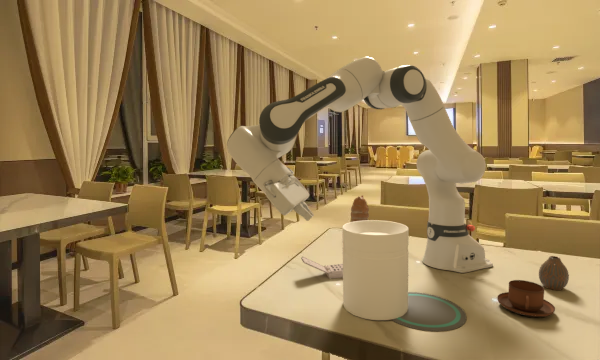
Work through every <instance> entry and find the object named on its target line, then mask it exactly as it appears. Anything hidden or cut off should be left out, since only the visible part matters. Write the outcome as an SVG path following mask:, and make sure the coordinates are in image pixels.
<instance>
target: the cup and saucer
mask: <svg viewBox="0 0 600 360" xmlns="http://www.w3.org/2000/svg"><path fill="white" fill-rule="evenodd" d="M544 297H545V287H544V286H542V285H541V284H539V283H536V282H534V281H529V280H522V279H513V280H510V281H508V292H507V291H505V292H502V293H499V294H498V295H497V297H496V298H497V302H499V304H500V305H501V306H502V307H503V308H504V309H506V310H509V311H511V312H513V313H515V314H518V315H523V316H525V317H532V318H541V317H542V318H544V317H549V316H550V315H553V314H554V313H555V310H556V307H555V306H554V304H553V303H551V302H550V301H548V300H546V299H544Z"/></svg>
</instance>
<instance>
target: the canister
mask: <svg viewBox="0 0 600 360" xmlns="http://www.w3.org/2000/svg"><path fill="white" fill-rule="evenodd" d="M341 229H342V231H341V232H342V264H343V278H342V292H343V293H342V294H343V295H342V304H343V308H344V309H345V310H346V312H348V313H350V314H351V315H353V316H355V317H357V318H358V317H359V318H362V319H364V320H365V319H366V320H372V321H389V320H391V319H396V318H398V317H401V316H403V315H404V314H405V313H406V312H407V310H408V292H409V231H410V230H409V226H407V225H406V224H403V223H400V222H395V221H390V220H378V219H375V220H374V219H370V220H369V219H368V220H364V221H355V222H352V221H350V222H346V223H344V224H343V225H342V227H341Z"/></svg>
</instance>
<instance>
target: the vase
mask: <svg viewBox="0 0 600 360" xmlns="http://www.w3.org/2000/svg"><path fill="white" fill-rule="evenodd" d="M538 279H539V281H540V283H541V284H542V285H543V287H544V288H547V289H550V290H553V291H560V290H563V289H565V288H566V286H567V285H568V283H569V279H570V274H569V270H568V269H567V267H566V265H565V264H564V263H563V261H562V260H561V257H559V256H556V255H555V256H554V255H550V256H549V257H548V259H546V261H544V262H543V263H542V264H541V265H540V267H539V270H538Z"/></svg>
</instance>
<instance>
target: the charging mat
mask: <svg viewBox="0 0 600 360" xmlns="http://www.w3.org/2000/svg"><path fill="white" fill-rule="evenodd" d="M466 314H467V313H466V312H465V310H464V309H463V308H462V307H461V306H459V305H458V304H457V303H455V302H453V301H451V300H449V299H446V298H444V297H442V296H437V295H434V294H429V293H426V292H425V293H424V292H416V291H415V292H414V291H408V310H407V312H406V313H405V314H404V315H403V316H401V317H398V318H396V319H390V320H391V321H392V322H394V323H396V324H398V325H401V326H404V327H407V328H411V329H413V330H414V329H415V330H419V331H426V332H444V331H445V332H447V331H452V330H455V329H458V328H460V327H462V326H463V325H464V324H465V323H466V322H467V315H466Z"/></svg>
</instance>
